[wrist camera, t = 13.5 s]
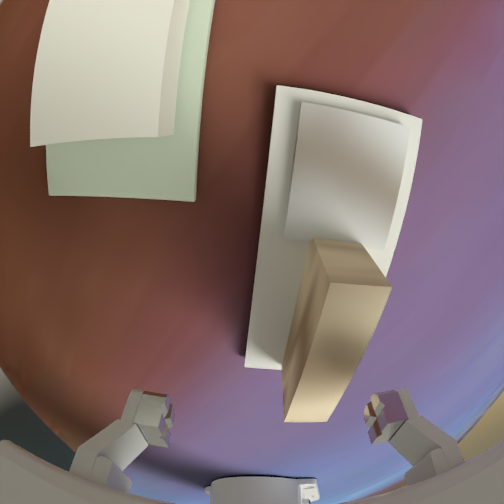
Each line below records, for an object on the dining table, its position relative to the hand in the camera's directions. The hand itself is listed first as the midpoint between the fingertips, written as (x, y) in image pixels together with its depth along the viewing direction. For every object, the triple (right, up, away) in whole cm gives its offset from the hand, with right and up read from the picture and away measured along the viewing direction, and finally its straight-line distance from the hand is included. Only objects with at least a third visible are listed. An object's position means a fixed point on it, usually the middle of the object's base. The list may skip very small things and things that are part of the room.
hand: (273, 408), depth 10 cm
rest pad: (+3, +6, +5) cm, 8 cm away
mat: (-7, +15, +1) cm, 16 cm away
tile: (-8, +11, 0) cm, 13 cm away
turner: (+3, +5, +4) cm, 7 cm away
